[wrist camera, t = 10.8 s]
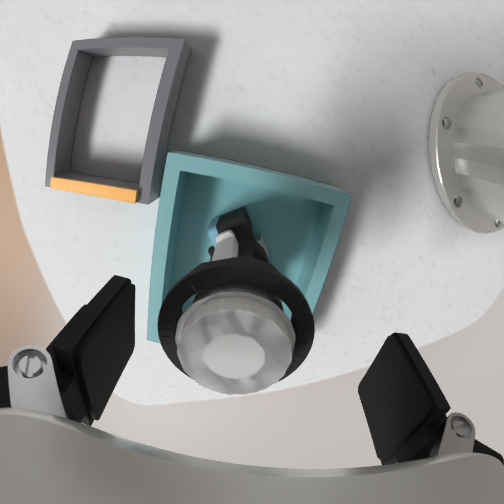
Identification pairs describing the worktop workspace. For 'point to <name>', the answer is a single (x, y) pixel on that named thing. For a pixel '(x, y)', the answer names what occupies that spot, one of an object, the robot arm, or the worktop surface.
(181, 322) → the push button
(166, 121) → the box
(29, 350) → the robot arm
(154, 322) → the tray
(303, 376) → the worktop surface
